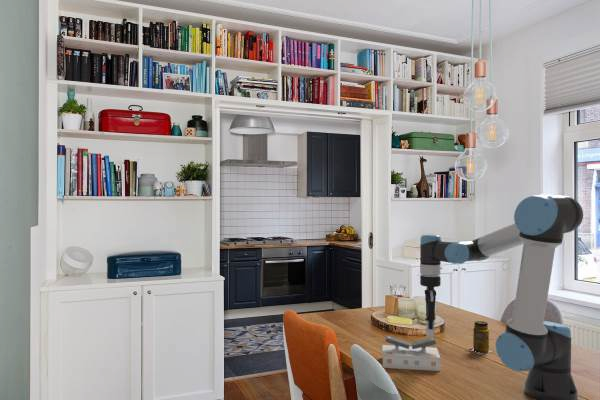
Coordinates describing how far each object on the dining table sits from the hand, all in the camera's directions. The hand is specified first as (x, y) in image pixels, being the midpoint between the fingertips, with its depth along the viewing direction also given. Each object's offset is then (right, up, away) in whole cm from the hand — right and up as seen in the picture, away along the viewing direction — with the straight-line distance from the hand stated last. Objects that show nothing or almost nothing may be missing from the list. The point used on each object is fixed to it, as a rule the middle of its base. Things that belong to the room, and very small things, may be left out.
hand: (430, 337), depth 182 cm
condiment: (+26, -11, +18) cm, 33 cm away
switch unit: (-7, -11, +1) cm, 13 cm away
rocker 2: (-2, -3, 0) cm, 4 cm away
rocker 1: (-12, -3, +2) cm, 13 cm away
